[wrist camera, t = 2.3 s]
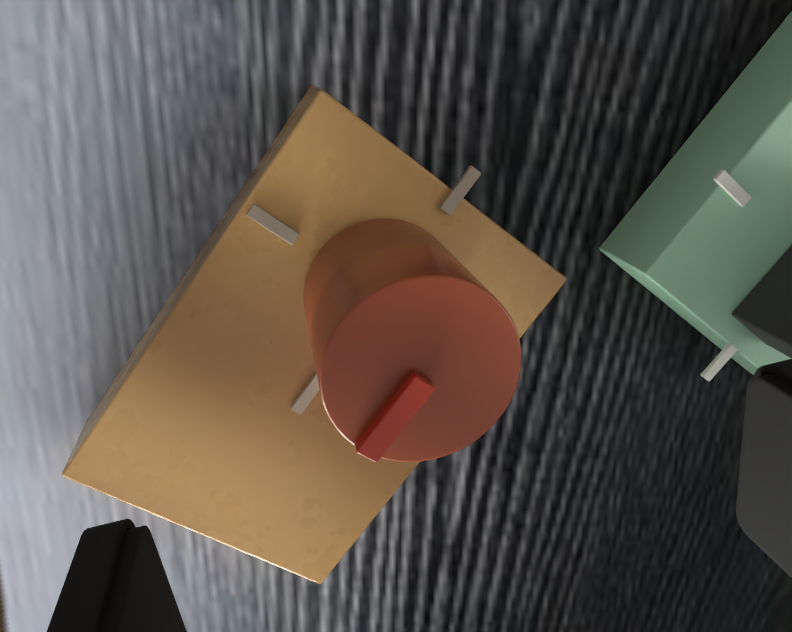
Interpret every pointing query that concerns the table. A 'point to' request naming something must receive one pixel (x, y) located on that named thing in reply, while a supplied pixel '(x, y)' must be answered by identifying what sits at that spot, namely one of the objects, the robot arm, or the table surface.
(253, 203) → the tan rotary knob base
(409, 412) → the round knob
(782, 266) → the bar knob
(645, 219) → the toggle switch base
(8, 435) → the table surface
